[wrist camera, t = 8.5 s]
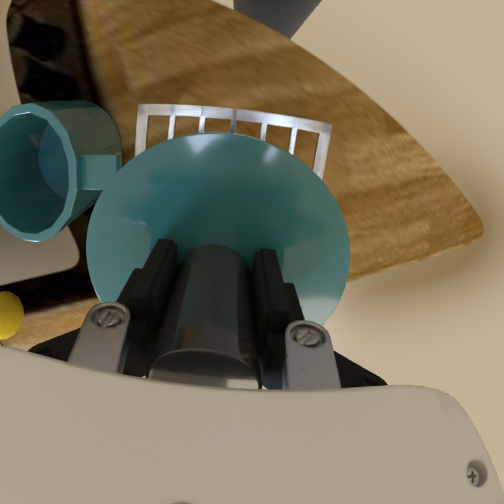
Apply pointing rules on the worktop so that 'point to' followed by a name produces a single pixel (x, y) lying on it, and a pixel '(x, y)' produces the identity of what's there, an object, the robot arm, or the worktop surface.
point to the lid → (218, 246)
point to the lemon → (10, 314)
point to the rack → (234, 116)
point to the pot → (54, 164)
